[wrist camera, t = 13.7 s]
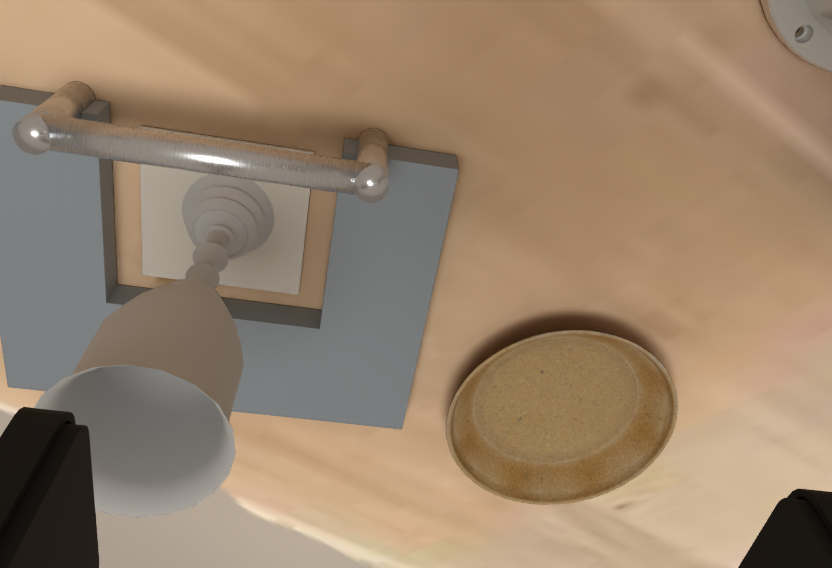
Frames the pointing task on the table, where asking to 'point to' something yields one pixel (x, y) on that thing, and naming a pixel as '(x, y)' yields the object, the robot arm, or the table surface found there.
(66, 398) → the chalice
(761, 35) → the table surface
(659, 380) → the plant saucer
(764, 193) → the table surface
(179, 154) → the metal bar handle
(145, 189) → the felt pad
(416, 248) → the grey rectangular frame
